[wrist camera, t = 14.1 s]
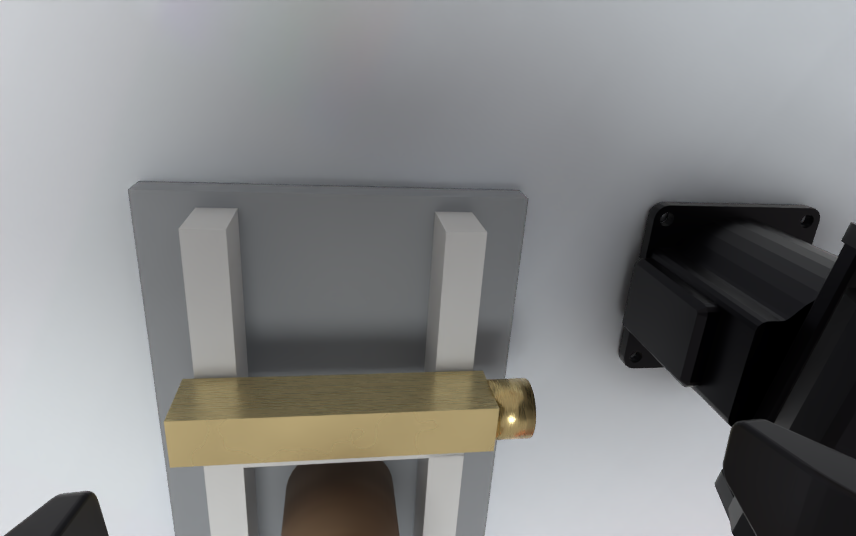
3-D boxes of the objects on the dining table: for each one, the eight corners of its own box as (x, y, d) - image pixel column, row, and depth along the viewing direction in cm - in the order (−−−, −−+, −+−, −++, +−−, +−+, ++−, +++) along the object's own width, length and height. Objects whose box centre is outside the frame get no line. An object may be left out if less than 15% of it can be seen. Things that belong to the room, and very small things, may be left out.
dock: (519, 190, 19) (549, 216, 17) (472, 569, 26) (488, 633, 23) (138, 181, 17) (102, 209, 15) (192, 593, 24) (173, 666, 21)
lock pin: (519, 365, 18) (540, 402, 16) (513, 412, 19) (532, 453, 17) (182, 374, 17) (162, 416, 15) (187, 425, 17) (170, 471, 16)
